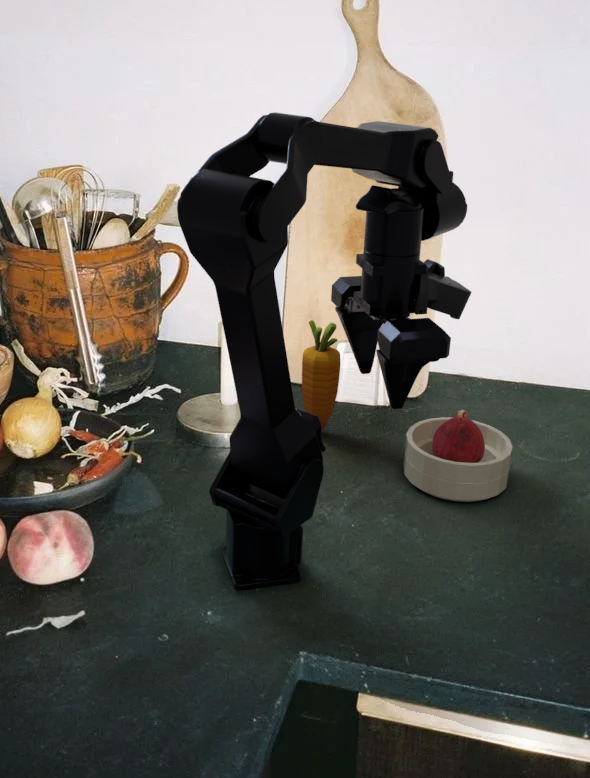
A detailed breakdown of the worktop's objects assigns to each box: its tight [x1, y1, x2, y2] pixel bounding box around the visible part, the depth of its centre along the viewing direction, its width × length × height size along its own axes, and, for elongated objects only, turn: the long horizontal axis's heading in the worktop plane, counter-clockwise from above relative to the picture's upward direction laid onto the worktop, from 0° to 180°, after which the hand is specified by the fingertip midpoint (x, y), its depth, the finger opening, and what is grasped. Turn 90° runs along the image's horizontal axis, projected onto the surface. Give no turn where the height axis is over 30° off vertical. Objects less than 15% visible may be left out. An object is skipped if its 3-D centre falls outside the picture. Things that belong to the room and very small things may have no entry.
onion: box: [432, 409, 485, 463], centre depth 105 cm, size 6×6×8 cm
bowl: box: [402, 416, 514, 503], centre depth 106 cm, size 12×12×5 cm
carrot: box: [301, 319, 341, 432], centre depth 114 cm, size 5×5×15 cm
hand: (380, 390), depth 100 cm, fingers open, 9 cm apart
